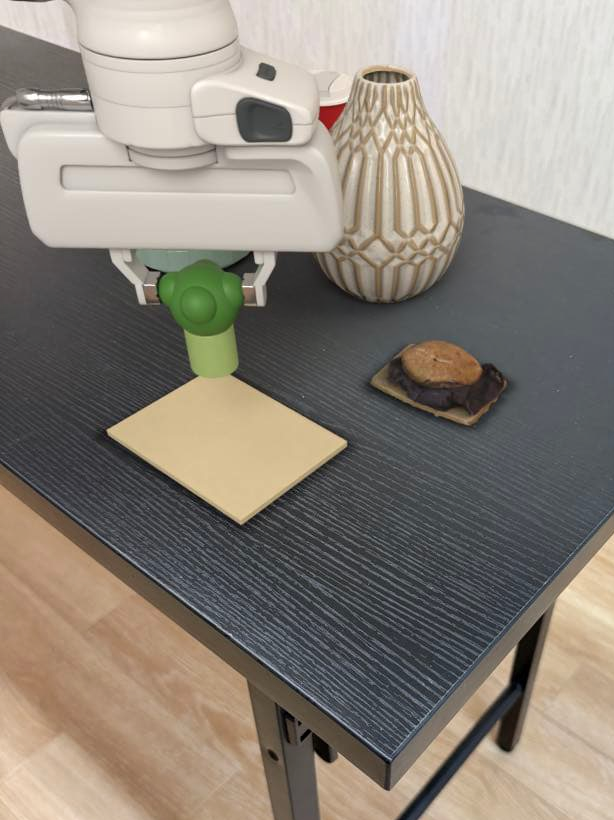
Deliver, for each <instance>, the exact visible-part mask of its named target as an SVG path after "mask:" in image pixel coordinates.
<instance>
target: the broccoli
mask: <svg viewBox="0 0 614 820" xmlns="http://www.w3.org/2000/svg"><path fill="white" fill-rule="evenodd" d="M161 277H162V278H161V279H160V281H159V285H158V294H159V297H160V299H161V301H162V304H164V305H165V306H166V307H167V308H169V311H170V314H171V315H172V317H173V319H174V320H175V322H176V323H177V324H178V325H179V326H180V327H181V328H183V335H184V339H185V344H186V350H187V355H188V359H189V365H190V368H191V371H192V372H193V373H194V374H195V375H197V376H201V377H205V378H220V377H224V376H227V375H229V374H230V375H232V374H233V373H234V372H235V371H237V369H238V367H239V363H240V361H239V355H238V348H237V341H236V332H235V326H234V323H235V321H236V320H237V317H238V315H239V311H240V308H241V307H243V306H244V303H243V299H244V296H243V295H242V287H241V285H242V281H243V278H241V277H240V276H239V275H238V274H236V273H233V272H228V271H227V272H226V271H225V270H224V269H222V268H221V267H220V266H219V265H218V264H217V263H216V262H214V261H212V260H209V259H201V260H198V261H196V262H195V263H193V264H191V265H189V266H186V267H184V268H183V269H181V270H180V271H179V272H178V271H173V272H169V273H167V272H166V273H165V274H164V275H163V276H161Z"/></svg>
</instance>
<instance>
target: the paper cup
mask: <svg viewBox="0 0 614 820" xmlns="http://www.w3.org/2000/svg"><path fill="white" fill-rule="evenodd" d="M306 70H307V71H308V72H310V73H311V74H313V75H314V77H315V78H316V81H317V84H318V89H319V98H320V108H319V118H318V120H319V121H321V122H322V123H323V124H324V126H325V127H326V128H327V130H328V132H329V130H330V129H331V127H332V126H333V124H334V123H335V122H336V120H337V119H338V117H339V116H340V115H341V113H342V112H343V110H344V108H345V106H346V103H347V101H348V98H349V95H350V91H351V88H352V84H353V82H352V80H351V78H350V77H349V76H348V75H347V74H345V73H341V74H340V72H339V71H333V70H328V71H327V69H323V68H321V69H320V68H318V69H317V68H315V69H314V68H313V69H306Z"/></svg>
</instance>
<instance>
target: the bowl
mask: <svg viewBox="0 0 614 820" xmlns="http://www.w3.org/2000/svg"><path fill="white" fill-rule="evenodd" d="M251 252H252V251H218V250H156V249H137V251H136V253H135V254H136V255H137V257H138V258H139V259H140V260H141V262H142V263H143V264H144V265H145V267H148V268H150V269H153V270H156V271H158V272H161V273H166V274H167V273H169V272H173V271H178V272H179V271H180V270H181V269H183V268H184V267H186V266H189V265H191V264H193V263H195V262H196V261H198V260H201V259H209V260H212V261H214V262H216V263H217V264H218V265H219V266H220V267H221V268H222V270H224V269H226V268H228V267H230V266H232V265H234V264H236V263H237V262H239V261H240V260H242V259H243V258H245V257H247V256H248V255H249V254H250V253H251Z"/></svg>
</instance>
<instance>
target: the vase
mask: <svg viewBox="0 0 614 820" xmlns="http://www.w3.org/2000/svg"><path fill="white" fill-rule="evenodd" d="M329 133H330V136H331V138H332V140H333V144H334V147H335V152H336V156H337V161H338V166H339V172H340V179H341V186H342V195H343V207H344V233H343V238H342V240H341V241H340V243H339V244H338V245H337V246H336V248H335V249H334V250H333V251H331V252H311V253H312V255H313V257H314V259H315V261H316V263H317V264H318V266H319V268H320V269H321V271H322V272H323V273H324V274H325V276H326V277H327V278H328V279H329V280H330V281H331V282H332V283H333V284H335V286H337V287H338V288H340V289H341V290H342V291H344V292H345V293H348V294H349V295H351V296H353V297H355V298H356V299H359V300H362V301H366V302H370V303H377V304H393V303H394V304H395V303H400V302H404V301H407V300H411V299H412V298H414V297H417V296H418V295H420V294H423V292H425V291H427V290H428V289H430V288H431V287H432V286H433V285H434V284H436V283H437V282H438V281H439V280H440V279H441V278H442V276H444V274H446V271H447V270H448V269H449V267H450V265H451V264H452V262H453V260H454V258H455V256H456V254H457V252H458V249H459V246H460V244H461V240H462V236H463V235H462V234H463V232H464V227H465V226H464V225H465V217H466V215H465V214H466V213H465V212H466V211H465V200H464V199H465V198H464V193H463V187H462V182H461V177H460V173H459V171H458V168H457V164H456V161H455V159H454V156H453V154H452V152H451V150H450V149H449V147H448V144H447V142H446V140H445V138H444V137H443V135H442V133H441V132H440V130H439V127H438V126H437V125H436V123H435V122H434V121H433V119H432V118H431V116H430V115H429V113H428V110H427V109H426V106H425V102H424V99H423V96H422V92H421V89H420V84H419V79H418V77H417V74H416V73H415V72H414V71H413V70H412V69H411V68H410V69H409V68H407V67H405V66H401V65H396V64H371V65H367V66H364V67H362V68H360V69H359V70H357V71H356V73H355V74H354V77H353V80H352V88H351V91H350V95H349V98H348V101H347V103H346V106H345V108H344V110H343V112H342V113H341V115H340V116H339V117H338V119H337V120H336V122H335V123H334V124H333V126H332V127H331V129H330V130H329Z"/></svg>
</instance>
